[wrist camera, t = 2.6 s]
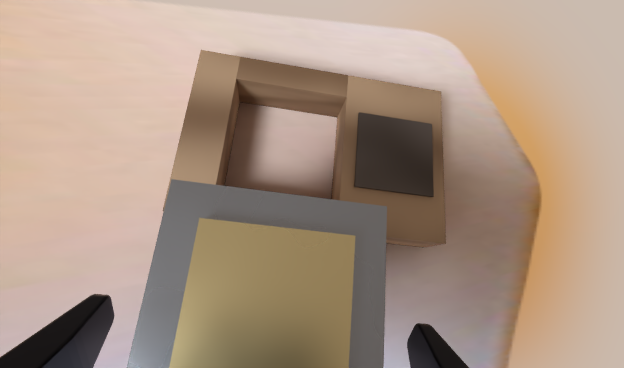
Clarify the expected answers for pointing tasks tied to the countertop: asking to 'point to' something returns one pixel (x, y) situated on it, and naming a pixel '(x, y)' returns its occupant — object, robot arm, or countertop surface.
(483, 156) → the countertop surface
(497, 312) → the countertop surface
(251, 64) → the plate with square hole
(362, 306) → the grey tall block
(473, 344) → the countertop surface
